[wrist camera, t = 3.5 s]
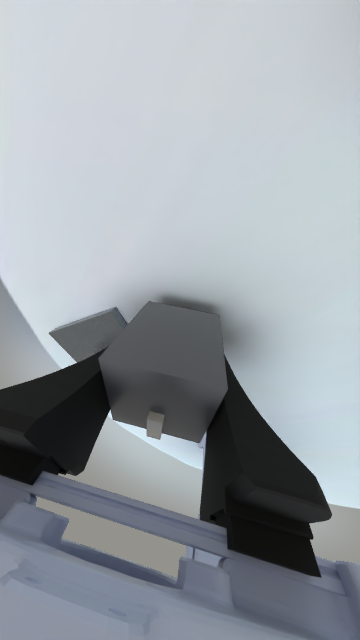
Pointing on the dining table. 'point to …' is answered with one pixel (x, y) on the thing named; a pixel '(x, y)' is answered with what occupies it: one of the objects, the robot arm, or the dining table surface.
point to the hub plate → (89, 334)
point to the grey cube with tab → (166, 371)
